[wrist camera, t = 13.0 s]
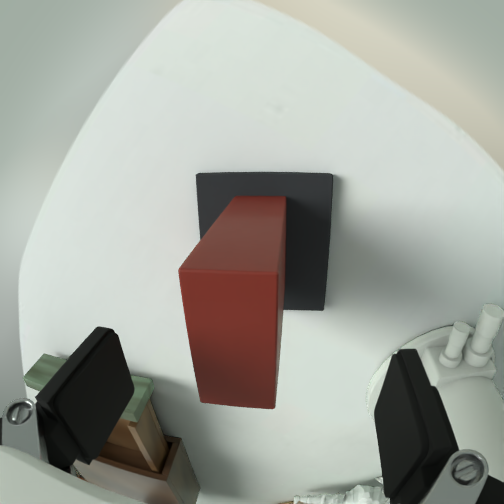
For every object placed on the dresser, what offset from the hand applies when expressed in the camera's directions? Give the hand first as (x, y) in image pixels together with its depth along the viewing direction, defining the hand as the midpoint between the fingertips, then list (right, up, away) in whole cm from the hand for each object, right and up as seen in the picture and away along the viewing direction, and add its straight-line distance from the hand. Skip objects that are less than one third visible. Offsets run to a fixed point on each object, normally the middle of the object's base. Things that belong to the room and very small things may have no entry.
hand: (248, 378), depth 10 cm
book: (+1, +5, +10) cm, 11 cm away
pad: (+1, +5, +10) cm, 11 cm away
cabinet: (-15, -23, +24) cm, 36 cm away
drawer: (-15, -12, +19) cm, 27 cm away
